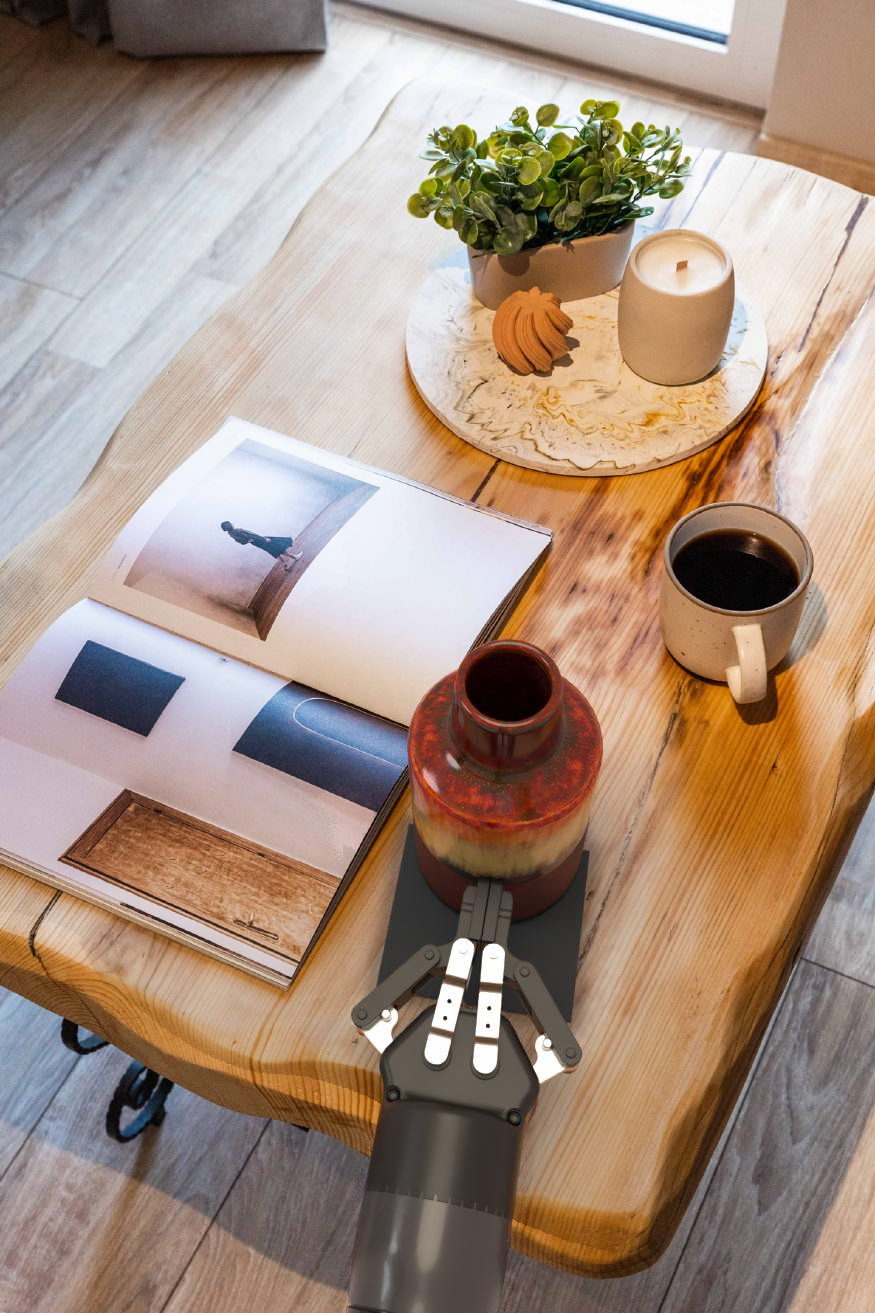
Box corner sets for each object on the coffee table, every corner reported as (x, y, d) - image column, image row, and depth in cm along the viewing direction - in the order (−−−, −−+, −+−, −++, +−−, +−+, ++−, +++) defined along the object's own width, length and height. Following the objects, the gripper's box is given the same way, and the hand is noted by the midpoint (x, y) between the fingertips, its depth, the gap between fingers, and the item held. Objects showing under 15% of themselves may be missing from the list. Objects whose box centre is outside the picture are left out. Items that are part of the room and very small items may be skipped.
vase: (503, 961, 68) (516, 821, 51) (381, 848, 73) (356, 685, 56) (614, 843, 73) (661, 678, 55) (493, 743, 77) (502, 561, 60)
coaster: (376, 989, 68) (375, 988, 68) (409, 824, 74) (409, 823, 74) (570, 1022, 67) (571, 1021, 67) (589, 851, 72) (589, 851, 72)
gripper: (575, 1236, 51) (613, 879, 60) (297, 1180, 53) (373, 840, 61) (564, 1245, 58) (600, 921, 66) (316, 1195, 59) (383, 885, 68)
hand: (490, 883), depth 64 cm, fingers closed
